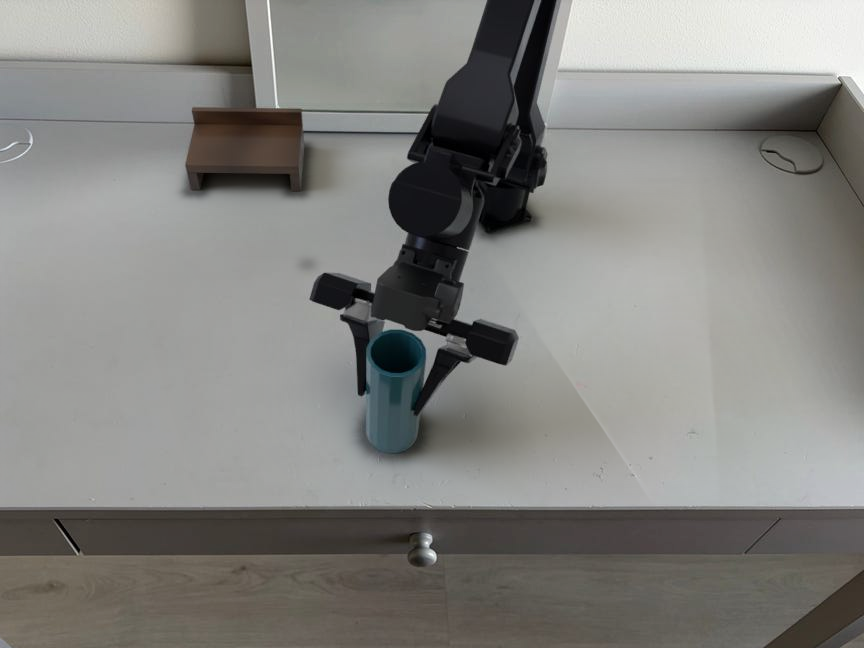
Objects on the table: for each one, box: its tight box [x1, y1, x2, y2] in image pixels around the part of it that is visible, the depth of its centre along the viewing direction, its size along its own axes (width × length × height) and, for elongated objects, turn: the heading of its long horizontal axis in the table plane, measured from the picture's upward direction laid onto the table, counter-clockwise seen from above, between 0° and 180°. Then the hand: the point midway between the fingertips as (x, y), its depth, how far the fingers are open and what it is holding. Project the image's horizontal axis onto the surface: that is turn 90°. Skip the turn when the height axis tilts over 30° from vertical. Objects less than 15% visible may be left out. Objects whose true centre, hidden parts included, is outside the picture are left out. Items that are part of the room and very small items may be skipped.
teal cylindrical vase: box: [365, 329, 427, 454], centre depth 73 cm, size 5×5×13 cm
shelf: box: [184, 106, 305, 192], centre depth 100 cm, size 14×9×6 cm, turn 90°
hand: (388, 405), depth 72 cm, fingers closed on teal cylindrical vase, 5 cm apart
